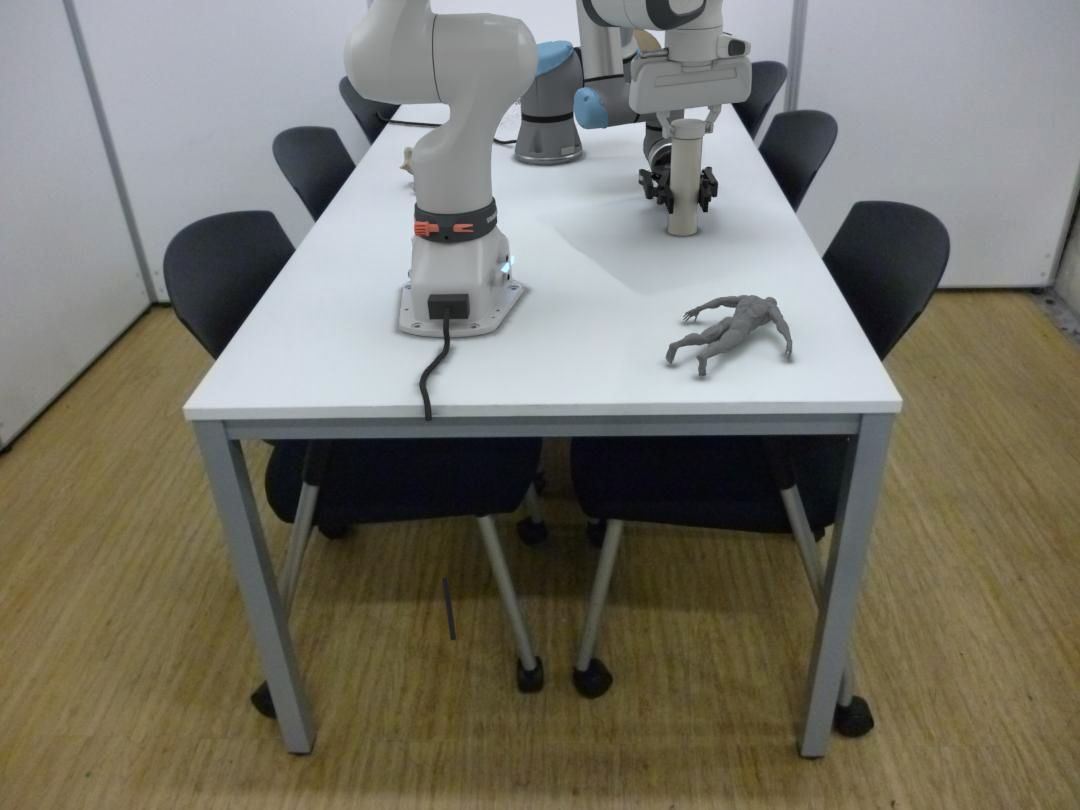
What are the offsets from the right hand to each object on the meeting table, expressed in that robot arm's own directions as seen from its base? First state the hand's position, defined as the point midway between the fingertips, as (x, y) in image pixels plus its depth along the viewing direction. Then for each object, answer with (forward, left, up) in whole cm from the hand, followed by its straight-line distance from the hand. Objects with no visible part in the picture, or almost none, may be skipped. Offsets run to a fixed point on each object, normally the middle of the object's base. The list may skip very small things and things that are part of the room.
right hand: (688, 205), depth 139 cm
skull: (-97, +44, -6) cm, 106 cm away
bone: (-52, -29, -6) cm, 60 cm away
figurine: (+33, -15, -6) cm, 37 cm away
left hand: (-5, +2, +10) cm, 11 cm away
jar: (-5, +2, -6) cm, 8 cm away
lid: (-5, +2, +12) cm, 13 cm away
